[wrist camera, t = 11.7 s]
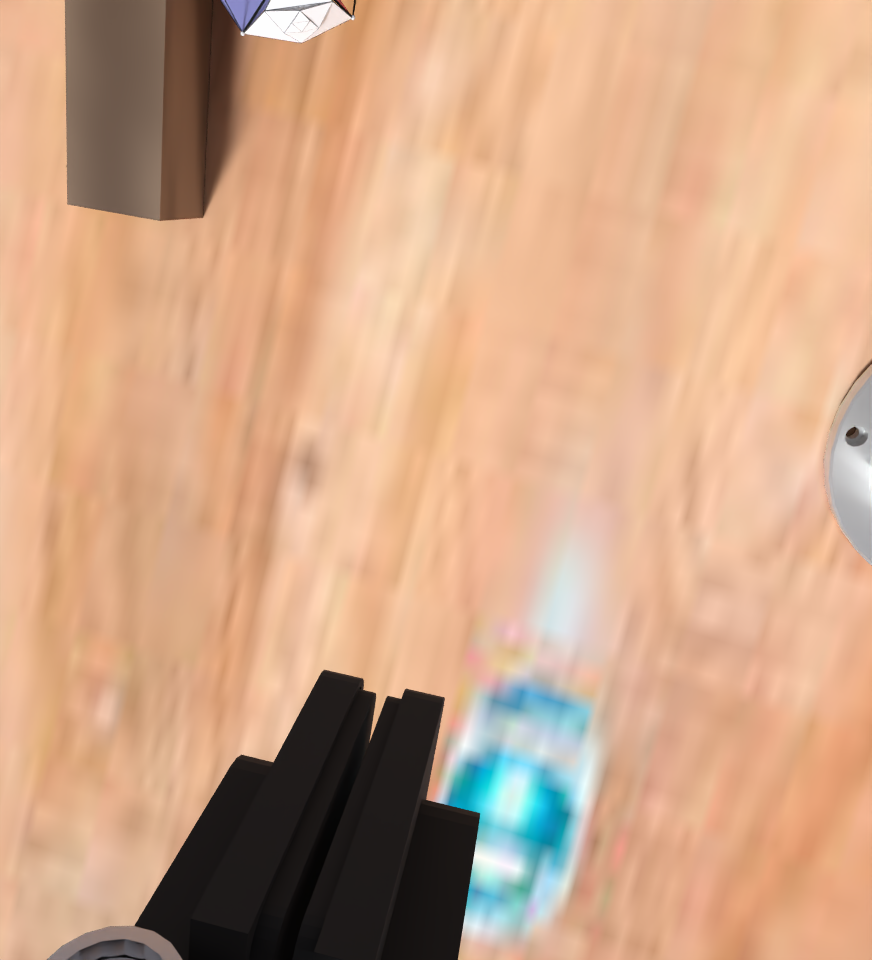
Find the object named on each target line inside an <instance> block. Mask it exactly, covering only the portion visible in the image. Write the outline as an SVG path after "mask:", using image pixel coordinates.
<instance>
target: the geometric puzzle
mask: <svg viewBox="0 0 872 960" xmlns="http://www.w3.org/2000/svg"><path fill="white" fill-rule="evenodd" d="M220 1H221V2H222V4H223V5H224V7H225V8H226V10H227V11H228V13H229V14H230V16H231V17H232V19H233V20H234V22H235V23H236V25H237V26H238V28H239V29H240V31H241V35H242V36H244V35H245V34H247V35H253V36H259V37H266V38H272V39H278V40H284V41H290V42H296V43H304V42H306V41H308V40H310V39H312V38H314V37H316V36H318V35H320V34H322V33H324V32H326V31H328V30H330V29H332V28H334V27H336V26H338V25H340V24H342V23H344V22H346V21H348V20H350V19H352V20H354V19H355V16H354V10H355V4H356V1H355V0H354V6H353V15H351V14H350V13H349V12H348V10H347V9H346V7H345V6H344V5H343V3H342V2H341V0H334V1H335V2H336V3H337V4H338V5H339V6H340V7H339V6H338V5H337V4H336V3H335V2H334V1H333V0H220ZM261 13H262V14H261ZM260 14H261V15H260ZM259 15H260V16H259ZM258 16H259V17H258ZM257 17H258V18H257ZM256 18H257V19H256Z"/></svg>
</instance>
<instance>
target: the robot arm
mask: <svg viewBox="0 0 872 960" xmlns="http://www.w3.org/2000/svg"><path fill="white" fill-rule="evenodd" d="M852 427H856V431H855V433H854V434H853V435H851V436H846V433H847V431H848V430H849V429H851V428H852ZM824 486H825V490H826V494H827V498H828V502H829V506H830V510H831V512H832V514H833V516H834V518H835V519H836V521H837V523H838V525H839V527H840V529H841V531H842V533H843V534H844V535H845V536H846V538H847V539H848V540H849V542H850V543H851V544H852V546H853V547H854V548H855V550H856V551H857V552H858V553H859V554H860V555H861V556H862V557H863V558H864V559H865V560H866V561H867V562H868V563H869V564H870V565H872V364H871V365H870V366H869V367H868V368H867V370H866V371H865V372H864V373H863V374H862V375H861V376H860V377H859V378H858V379H857V380H856V382H855V383H854V385H853V386H852V388H851V389H850V391H849V392H848V394H847V395H846V397H845V399H844V400H843V402H842V403H841V405H840V406H839V409H838V411H837V414H836V416H835V419H834V421H833V423H832V426H831V428H830V431H829V433H828V439H827V444H826V450H825V455H824ZM363 687H364V680H363V679H362V678H358V677H353V676H349V675H345V674H340V673H336V672H332V671H327V670H324V671H322V673H321V674H320V676H319V678H318V680H317V682H316V684H315V685H314V687H313V689H312V691H311V693H310V695H309V697H308V699H307V700H306V702H305V704H304V706H303V708H302V710H301V712H300V714H299V716H298V717H297V719H296V721H295V723H294V725H293V727H292V729H291V731H290V732H289V734H288V736H287V738H286V740H285V742H284V744H283V746H282V748H281V749H280V751H279V753H278V755H277V757H276V759H275V761H274V763H273V762H269V761H265V760H261V759H257V758H253V757H249V756H244V755H240V756H239V757H237V758H236V760H235V761H234V762H233V764H232V765H231V766H230V768H229V770H228V771H227V773H226V775H225V776H224V778H223V780H222V781H221V783H220V785H219V786H218V788H217V790H216V791H215V793H214V795H213V796H212V798H211V800H210V801H209V803H208V805H207V806H206V808H205V810H204V811H203V813H202V815H201V816H200V818H199V820H198V821H197V823H196V824H195V826H194V828H193V829H192V831H191V833H190V834H189V836H188V838H187V839H186V841H185V843H184V844H183V846H182V848H181V849H180V851H179V853H178V854H177V856H176V858H175V859H174V861H173V863H172V864H171V866H170V868H169V869H168V871H167V873H166V874H165V876H164V878H163V879H162V881H161V883H160V884H159V886H158V888H157V889H156V891H155V892H154V894H153V896H152V897H151V899H150V901H149V902H148V904H147V906H146V907H145V909H144V911H143V912H142V914H141V916H140V917H139V919H138V921H137V922H136V924H135V926H110V927H106V928H102V929H99V930H95V931H92V932H88V933H85V934H83V935H81V936H79V937H78V938H76V939H74V940H72V941H70V942H68V943H67V944H65V945H63V946H61V947H60V948H59V949H58V950H57V951H56V952H55V953H54V954H52V955H51V956H50V957H49V958H48V959H47V960H458V954H459V948H460V942H461V935H462V929H463V922H464V916H465V909H466V903H467V897H468V890H469V884H470V877H471V871H472V864H473V858H474V852H475V845H476V839H477V832H478V826H479V819H480V813H477V812H473V811H469V810H465V809H461V808H457V807H452V806H448V805H444V804H440V803H436V802H432V801H428V800H426V797H427V791H428V786H429V781H430V775H431V770H432V765H433V759H434V754H435V749H436V744H437V738H438V733H439V728H440V722H441V717H442V712H443V706H444V700H445V698H444V697H440V696H435V695H431V694H427V693H422V692H418V691H414V690H409V689H405V691H404V693H403V696H402V699H399V698H395V697H391V696H387V698H386V700H385V703H384V706H383V708H382V711H381V714H380V716H379V719H378V722H377V724H376V727H375V730H374V732H373V735H372V738H371V740H370V735H371V728H372V721H373V715H374V708H375V701H376V693H373V692H369V691H365V690H363ZM369 741H370V743H369Z"/></svg>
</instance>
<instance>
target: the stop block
mask: <svg viewBox="0 0 872 960" xmlns="http://www.w3.org/2000/svg"><path fill="white" fill-rule="evenodd" d="M212 7H213V0H65V40H66V122H67V204H68V205H74V206H79V207H85V208H91V209H96V210H102V211H108V212H113V213H119V214H125V215H130V216H136V217H141V218H147V219H153V220H158V221H163V220H178V219H192V218H203V204H204V182H205V160H206V138H207V116H208V94H209V73H210V51H211V29H212Z"/></svg>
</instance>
